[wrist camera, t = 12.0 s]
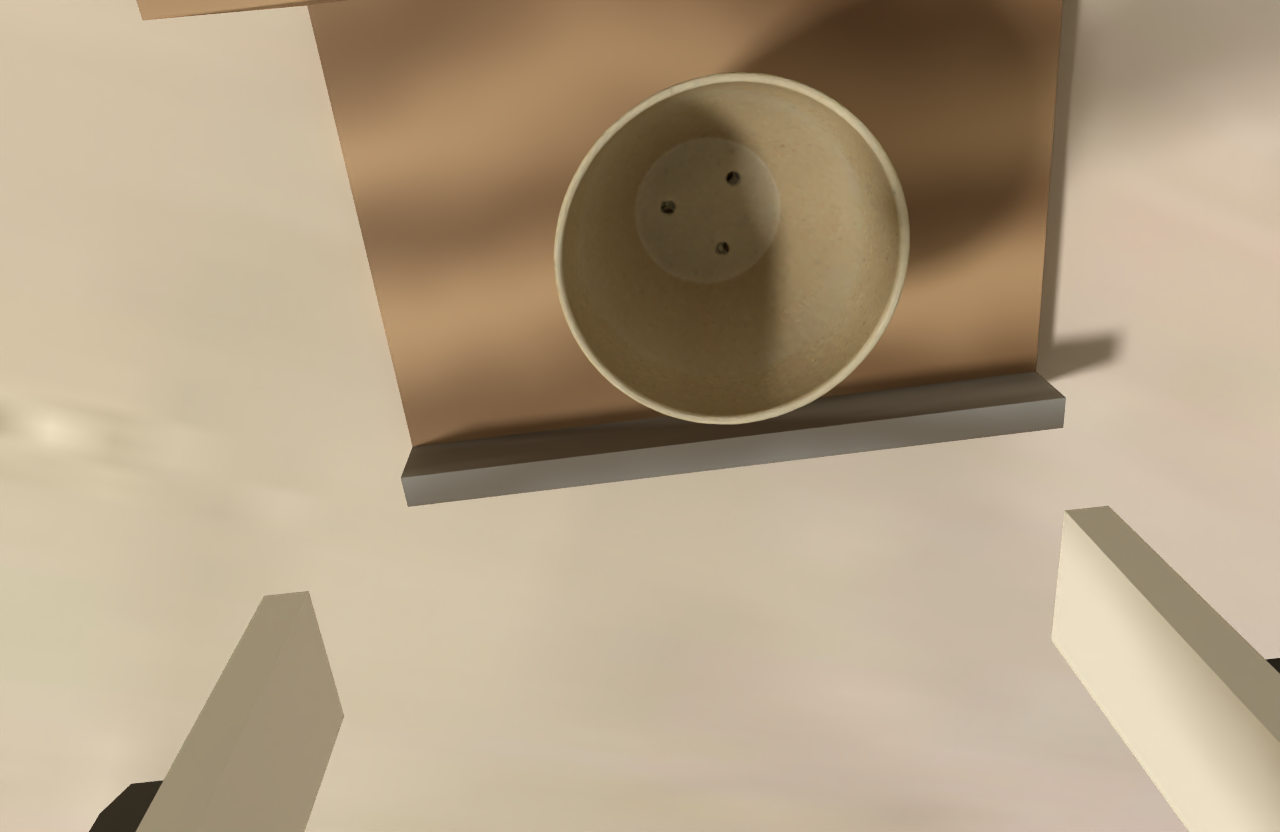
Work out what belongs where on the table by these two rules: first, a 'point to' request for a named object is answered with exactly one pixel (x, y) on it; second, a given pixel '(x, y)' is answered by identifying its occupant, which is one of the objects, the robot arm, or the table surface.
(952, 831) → the table surface
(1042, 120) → the brown piece
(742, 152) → the flower pot
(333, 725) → the robot arm
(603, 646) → the table surface
